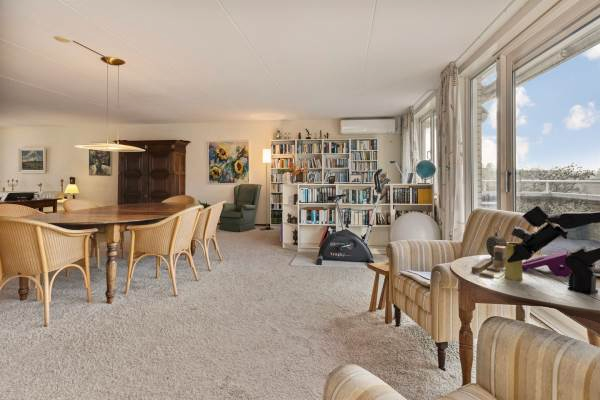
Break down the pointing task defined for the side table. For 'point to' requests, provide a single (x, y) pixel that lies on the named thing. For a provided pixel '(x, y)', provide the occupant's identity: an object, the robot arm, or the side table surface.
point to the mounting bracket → (550, 263)
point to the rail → (492, 264)
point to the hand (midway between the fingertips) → (509, 260)
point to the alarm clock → (494, 243)
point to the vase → (512, 264)
